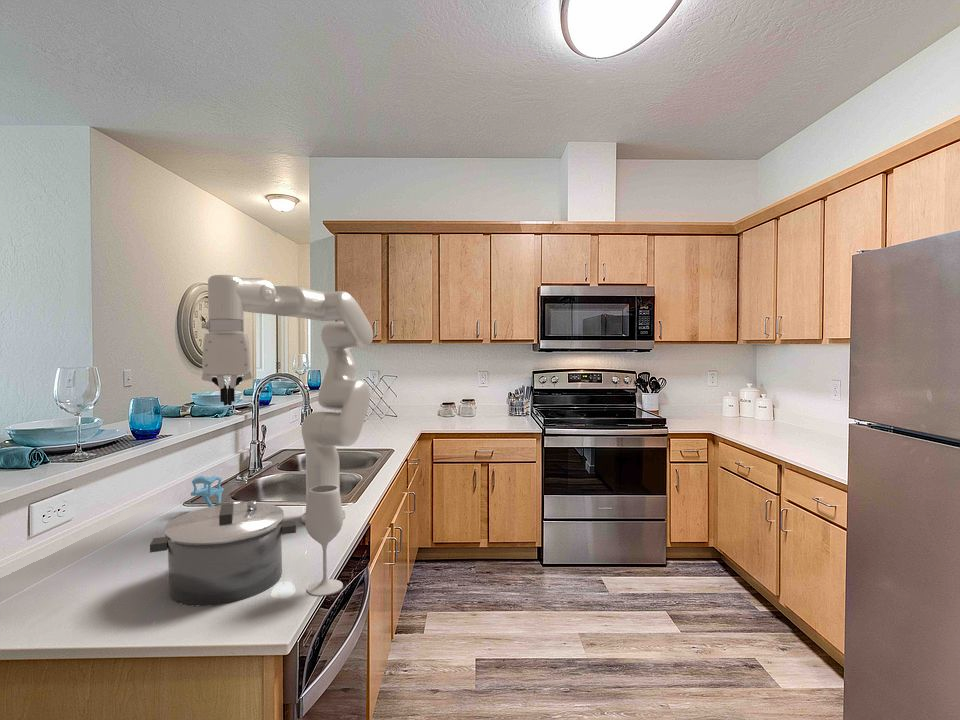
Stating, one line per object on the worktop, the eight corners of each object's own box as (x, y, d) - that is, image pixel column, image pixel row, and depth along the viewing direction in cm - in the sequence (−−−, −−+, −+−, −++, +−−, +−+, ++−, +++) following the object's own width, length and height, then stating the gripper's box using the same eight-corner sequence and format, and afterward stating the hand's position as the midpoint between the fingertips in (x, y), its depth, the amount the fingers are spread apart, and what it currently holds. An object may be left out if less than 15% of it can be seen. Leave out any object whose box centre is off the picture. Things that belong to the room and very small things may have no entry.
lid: (174, 514, 121) (174, 499, 121) (280, 502, 130) (280, 488, 130) (155, 553, 98) (155, 534, 98) (286, 535, 107) (285, 518, 107)
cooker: (161, 572, 118) (160, 519, 118) (292, 552, 129) (292, 504, 129) (142, 618, 98) (140, 554, 98) (299, 590, 109) (298, 533, 109)
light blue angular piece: (227, 509, 165) (227, 471, 164) (210, 518, 156) (209, 478, 156) (205, 508, 166) (204, 471, 165) (187, 517, 158) (186, 477, 157)
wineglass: (305, 598, 105) (303, 494, 105) (307, 582, 113) (305, 485, 112) (344, 593, 107) (342, 491, 107) (343, 578, 115) (342, 482, 114)
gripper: (188, 326, 118) (190, 408, 118) (260, 327, 124) (261, 404, 124) (192, 328, 125) (193, 405, 125) (260, 328, 131) (261, 402, 131)
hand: (227, 404), depth 125 cm, fingers closed
